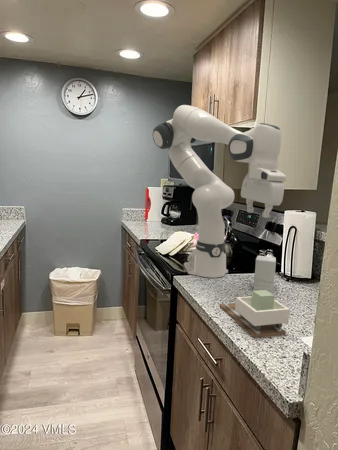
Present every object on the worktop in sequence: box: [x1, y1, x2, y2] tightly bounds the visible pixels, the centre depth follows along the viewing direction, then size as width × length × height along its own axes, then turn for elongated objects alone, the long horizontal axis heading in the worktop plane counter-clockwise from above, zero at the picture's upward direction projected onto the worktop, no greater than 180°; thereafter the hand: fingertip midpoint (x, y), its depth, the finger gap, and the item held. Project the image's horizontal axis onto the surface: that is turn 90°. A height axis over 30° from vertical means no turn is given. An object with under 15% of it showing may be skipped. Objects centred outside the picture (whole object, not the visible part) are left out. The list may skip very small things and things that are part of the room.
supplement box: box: [253, 255, 277, 294], centre depth 135 cm, size 7×7×13 cm
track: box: [219, 302, 287, 339], centre depth 107 cm, size 22×10×1 cm, turn 18°
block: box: [251, 290, 276, 311], centre depth 101 cm, size 4×4×6 cm
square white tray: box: [235, 295, 291, 330], centre depth 101 cm, size 11×11×6 cm
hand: (257, 214), depth 118 cm, fingers open, 8 cm apart
